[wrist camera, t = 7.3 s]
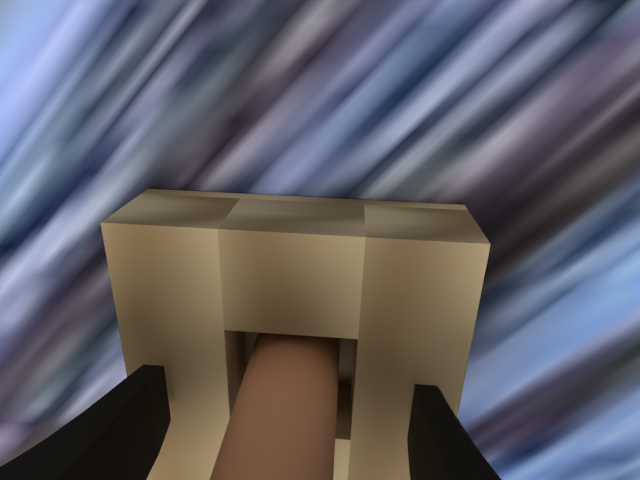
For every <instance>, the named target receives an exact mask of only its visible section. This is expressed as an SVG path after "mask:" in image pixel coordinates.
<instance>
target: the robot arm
mask: <svg viewBox="0 0 640 480" xmlns="http://www.w3.org/2000/svg"><path fill="white" fill-rule="evenodd" d="M170 422H171V415H170V408H169V400H168V393H167V385H166V377H165V370H164V366H159V365H146V364H143V365H142V366H141V367H139V368H138V369H137V370H136V371H134V372H133V373H132V374H131V375H129V376H128V377H127V378H126V379H124V380H123V381H122V382H121V383H119V384H118V385H117V386H116V387H114V388H113V389H112V390H111V391H109V392H108V393H107V394H106V395H104V396H103V397H102V398H101V399H99V400H98V401H97V402H95V403H94V404H93V405H92V406H90V407H89V408H88V409H86V410H85V411H84V412H83V413H81V414H80V415H78V416H77V417H76V418H74V419H73V420H71V421H70V422H69V423H67V424H66V425H65V426H63V427H62V428H60V429H59V430H58V431H56V432H55V433H53V434H52V435H51V436H49V437H48V438H46V439H45V440H43V441H42V442H40V443H39V444H37V445H36V446H34V447H33V448H31V449H29V450H28V451H26V452H25V453H23V454H21V455H20V456H18V457H16V458H15V459H13V460H12V461H10V462H8V463H7V464H5V465H3V466H1V467H0V480H146V479H147V477H148V475H149V473H150V471H151V469H152V467H153V465H154V463H155V461H156V459H157V457H158V455H159V452H160V450H161V447H162V444H163V442H164V439H165V436H166V433H167V430H168V427H169V425H170ZM407 444H408V459H409V472H410V479H411V480H501V479H500V477H499V476H498V475H497V474H496V472H495V471H494V470H493V468H492V467H491V466H490V465H489V463H488V462H487V461H486V459H485V458H484V457H483V455H482V454H481V452H480V451H479V450H478V448H477V447H476V445H475V444H474V442H473V441H472V440H471V438H470V437H469V435H468V434H467V432H466V431H465V429H464V428H463V426H462V425H461V423H460V422H459V420H458V419H457V417H456V415H455V414H454V412H453V411H452V409H451V407H450V406H449V404H448V402H447V401H446V399H445V397H444V395H443V394H442V392H441V390H440V389H439V388H438V386H435V385H421V384H415V386H414V393H413V400H412V407H411V414H410V422H409V429H408V436H407Z"/></svg>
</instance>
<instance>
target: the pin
mask: <svg viewBox="0 0 640 480" xmlns="http://www.w3.org/2000/svg"><path fill="white" fill-rule="evenodd" d="M339 356H340V338H333V337H319V336H304V335H289V334H274V333H260V332H258V335H257V338H256V341H255V344H254V347H253V350H252V353H251V356H250V359H249V362H248V365H247V368H246V371H245V374H244V377H243V380H242V383H241V386H240V389H239V392H238V395H237V398H236V401H235V404H234V407H233V410H232V413H231V416H230V419H229V422H228V426H227V429H226V432H225V435H224V438H223V441H222V444H221V447H220V450H219V453H218V456H217V459H216V462H215V465H214V468H213V471H212V474H211V477H210V480H333V474H334V454H335V435H336V415H337V395H338V376H339Z"/></svg>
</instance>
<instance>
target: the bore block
mask: <svg viewBox="0 0 640 480" xmlns="http://www.w3.org/2000/svg"><path fill="white" fill-rule="evenodd" d="M101 228H102V234H103V240H104V246H105V251H106V257H107V263H108V269H109V274H110V280H111V286H112V292H113V297H114V303H115V309H116V315H117V320H118V326H119V332H120V338H121V343H122V349H123V355H124V361H125V366H126V372H127V377H128V376H129V375H131V374H132V373H133V372H134V371H136V370H137V369H138V368H139V367H141V366H142V365H143V364H146V365H159V366H164V370H165V377H166V385H167V393H168V400H169V408H170V415H171V422H170V425H169V427H168V430H167V433H166V436H165V439H164V442H163V444H162V447H161V450H160V452H159V455H158V457H157V459H156V461H155V463H154V465H153V467H152V469H151V471H150V473H149V475H148V477H147V479H146V480H210V477H211V474H212V471H213V468H214V465H215V462H216V459H217V456H218V453H219V450H220V447H221V444H222V441H223V438H224V435H225V432H226V429H227V426H228V422H229V419H230V416H231V413H232V410H233V407H234V404H235V401H236V398H237V395H238V392H239V389H240V386H241V383H242V380H243V377H244V374H245V371H246V368H247V365H248V362H249V359H250V356H251V353H252V350H253V347H254V344H255V341H256V338H257V335H258V332H260V333H274V334H289V335H304V336H319V337H333V338H340V356H339V376H338V395H337V415H336V435H335V454H334V474H333V480H411V479H410V472H409V459H408V444H407V436H408V429H409V422H410V414H411V407H412V400H413V393H414V386H415V384H421V385H435V386H438V388H439V389H440V390H441V392H442V394H443V395H444V397H445V399H446V401H447V402H448V404H449V406H450V407H451V409H452V411H453V412H454V414H455V415H456V417H457V415H458V409H459V404H460V399H461V394H462V389H463V384H464V379H465V373H466V368H467V363H468V358H469V353H470V348H471V343H472V337H473V332H474V327H475V322H476V317H477V312H478V307H479V301H480V296H481V291H482V286H483V281H484V276H485V270H486V265H487V260H488V255H489V250H490V245H491V244H490V242H489V241H488V239H487V238H486V236H485V235H484V233H483V232H482V230H481V229H480V227H479V226H478V224H477V223H476V221H475V220H474V218H473V217H472V215H471V214H470V212H469V211H468V209H467V208H466V206H465V205H459V204H439V203H419V202H400V201H380V200H360V199H340V198H321V197H301V196H281V195H262V194H242V193H222V192H203V191H183V190H163V189H147V190H146V191H144V192H143V193H142V194H140V195H139V196H137V197H136V198H135V199H133V200H132V201H130V202H129V203H127V204H126V205H125V206H123V207H122V208H120V209H119V210H118V211H116V212H115V213H113V214H112V215H111V216H109V217H108V218H106V219H105V220H103V221H102V222H101Z"/></svg>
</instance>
